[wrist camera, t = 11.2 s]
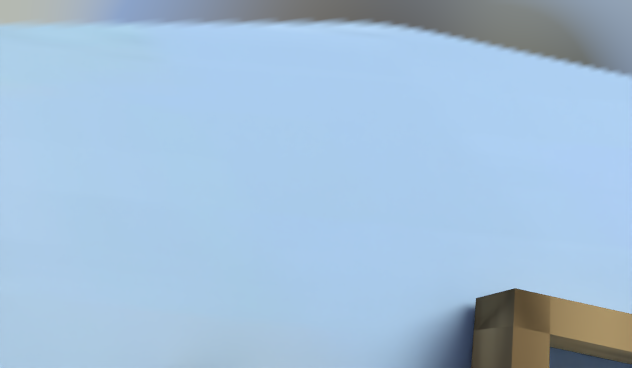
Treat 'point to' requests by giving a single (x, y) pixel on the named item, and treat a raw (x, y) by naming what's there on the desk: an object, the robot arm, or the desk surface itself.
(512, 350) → the pull frame
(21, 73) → the desk surface
